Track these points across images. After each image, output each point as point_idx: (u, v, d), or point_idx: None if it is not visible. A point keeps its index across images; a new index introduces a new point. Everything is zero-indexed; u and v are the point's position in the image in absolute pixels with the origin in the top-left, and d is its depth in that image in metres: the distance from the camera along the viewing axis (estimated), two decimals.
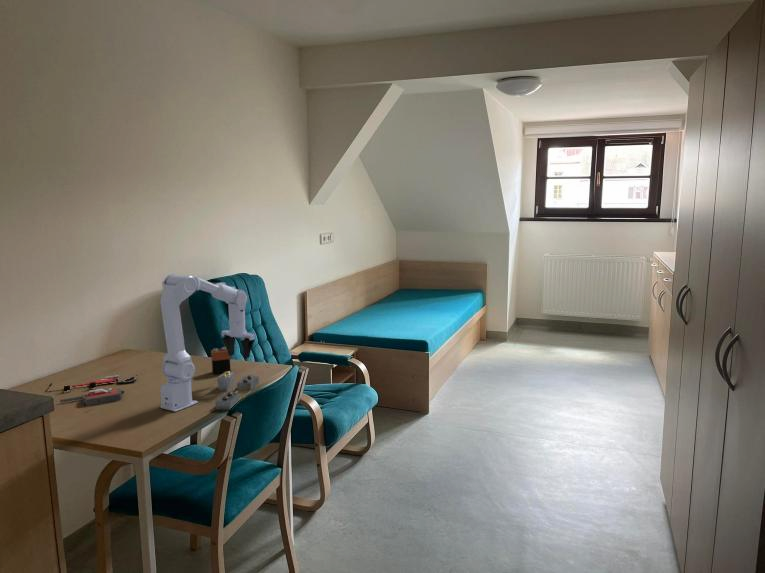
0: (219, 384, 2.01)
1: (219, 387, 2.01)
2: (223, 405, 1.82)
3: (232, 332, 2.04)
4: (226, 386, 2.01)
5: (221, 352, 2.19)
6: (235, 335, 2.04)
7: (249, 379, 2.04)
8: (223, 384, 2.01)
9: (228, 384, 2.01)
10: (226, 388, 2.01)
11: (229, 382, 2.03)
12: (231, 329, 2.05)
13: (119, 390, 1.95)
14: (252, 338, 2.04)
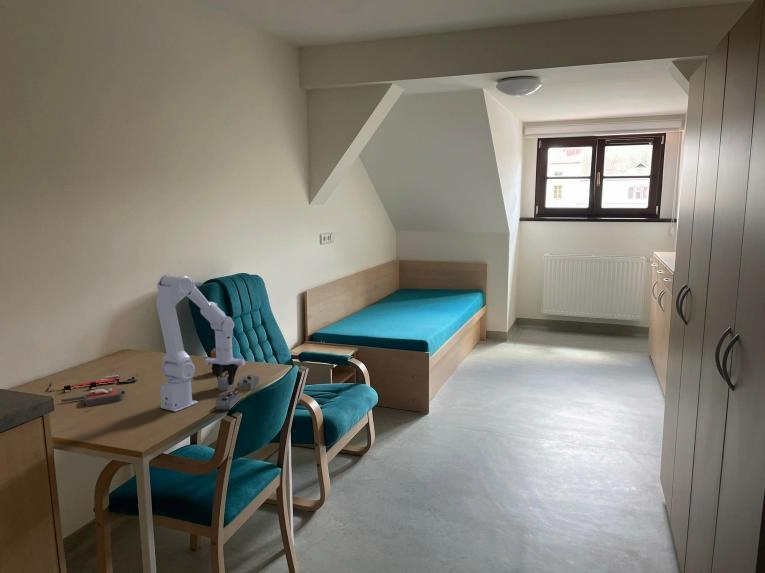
0: (219, 384, 2.01)
1: (219, 387, 2.01)
2: (223, 405, 1.82)
3: (221, 360, 2.00)
4: (226, 386, 2.01)
5: None
6: (225, 362, 2.00)
7: (249, 379, 2.04)
8: (223, 384, 2.01)
9: (228, 383, 2.01)
10: (226, 388, 2.01)
11: None
12: (220, 357, 2.00)
13: (119, 391, 1.94)
14: (243, 364, 2.02)
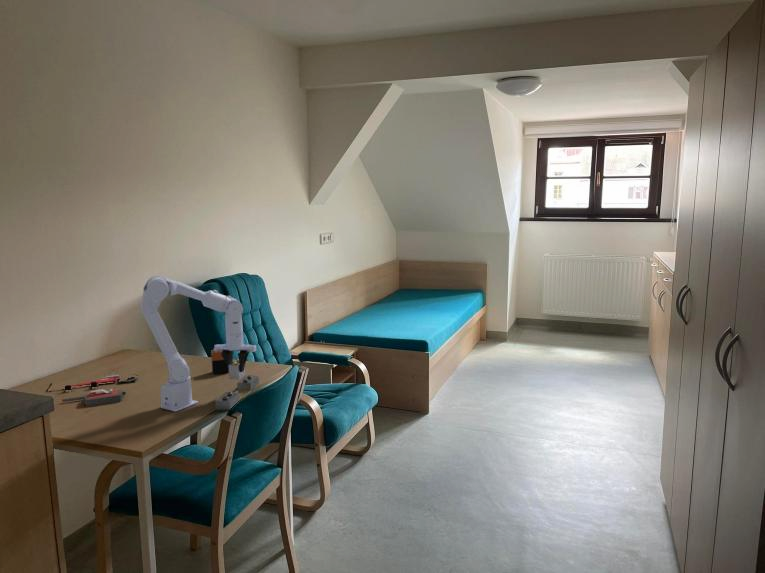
0: (230, 373, 1.92)
1: (230, 376, 1.92)
2: (223, 405, 1.82)
3: (231, 345, 1.90)
4: (237, 375, 1.92)
5: (221, 352, 2.19)
6: (235, 348, 1.90)
7: (249, 379, 2.04)
8: (234, 373, 1.92)
9: (239, 372, 1.92)
10: (237, 377, 1.92)
11: None
12: (230, 342, 1.90)
13: (120, 391, 1.94)
14: (255, 350, 1.92)
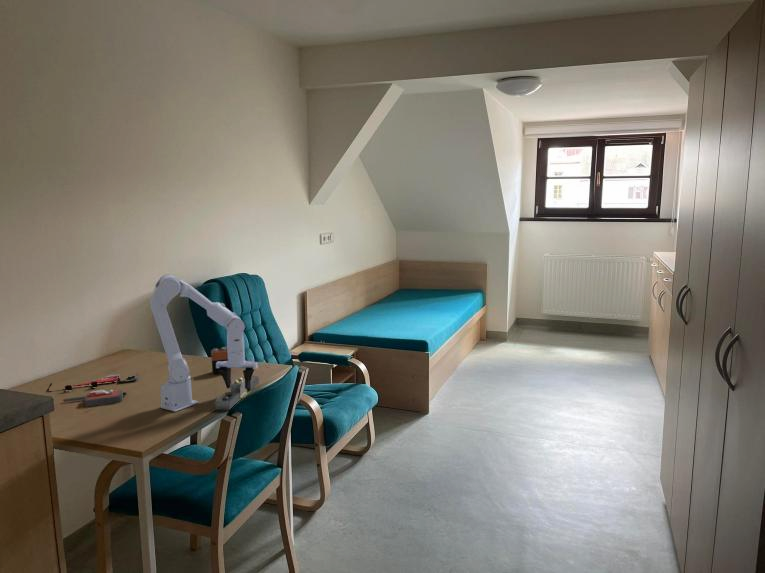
0: (232, 391, 1.93)
1: None
2: (223, 405, 1.82)
3: (233, 363, 1.91)
4: (239, 393, 1.92)
5: (221, 352, 2.19)
6: (237, 365, 1.91)
7: None
8: (236, 391, 1.92)
9: (241, 390, 1.93)
10: None
11: (242, 389, 1.95)
12: (232, 359, 1.91)
13: (120, 392, 1.93)
14: (256, 367, 1.92)
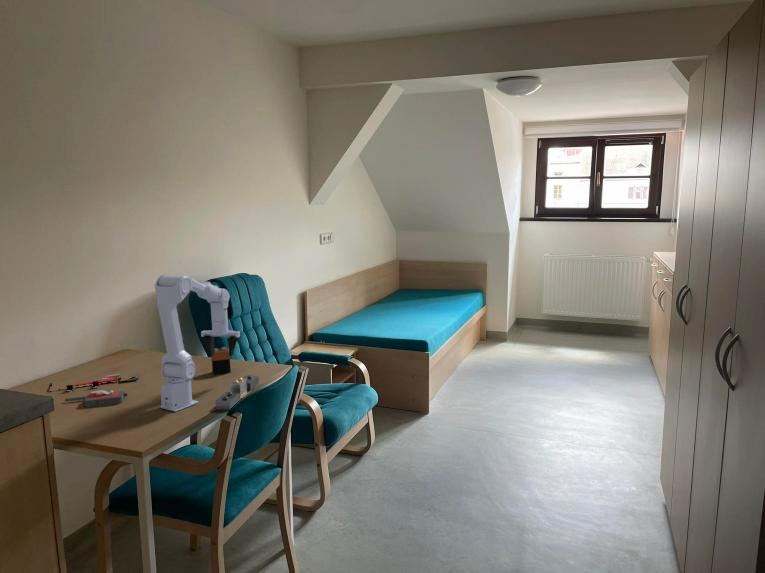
0: (232, 391, 1.93)
1: None
2: (223, 405, 1.82)
3: (217, 331, 2.05)
4: (239, 393, 1.92)
5: (221, 352, 2.19)
6: (220, 334, 2.05)
7: (249, 379, 2.04)
8: (236, 391, 1.92)
9: (241, 390, 1.93)
10: None
11: (242, 389, 1.95)
12: (215, 328, 2.05)
13: (120, 393, 1.92)
14: (238, 335, 2.07)
